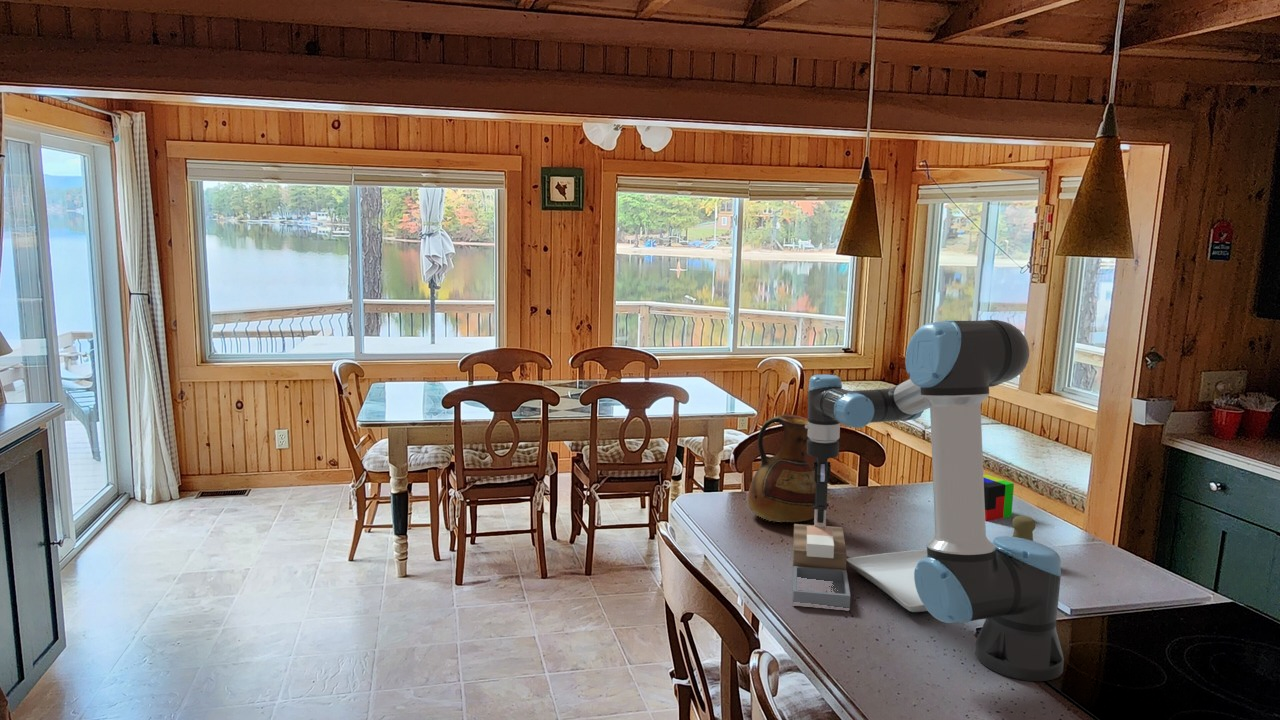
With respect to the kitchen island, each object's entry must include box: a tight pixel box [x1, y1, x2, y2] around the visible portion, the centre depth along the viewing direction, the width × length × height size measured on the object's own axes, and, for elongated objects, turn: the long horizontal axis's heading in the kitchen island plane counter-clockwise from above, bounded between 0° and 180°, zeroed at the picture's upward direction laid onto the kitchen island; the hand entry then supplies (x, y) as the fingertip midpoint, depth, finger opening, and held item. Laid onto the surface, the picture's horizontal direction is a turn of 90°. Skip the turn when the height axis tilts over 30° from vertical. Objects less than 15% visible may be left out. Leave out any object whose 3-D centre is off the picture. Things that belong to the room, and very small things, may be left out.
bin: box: [792, 565, 851, 609], centre depth 181 cm, size 14×12×4 cm
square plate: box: [846, 549, 928, 613], centre depth 185 cm, size 27×27×4 cm
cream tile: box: [806, 535, 834, 558], centre depth 187 cm, size 6×6×3 cm
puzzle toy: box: [983, 473, 1015, 522], centre depth 235 cm, size 10×10×10 cm
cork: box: [1012, 515, 1036, 541], centre depth 201 cm, size 6×6×11 cm
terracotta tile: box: [806, 526, 833, 540], centre depth 193 cm, size 6×6×3 cm
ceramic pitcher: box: [747, 413, 816, 523], centre depth 229 cm, size 20×20×30 cm
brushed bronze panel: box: [792, 523, 848, 571], centre depth 197 cm, size 18×12×7 cm, turn 169°
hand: (819, 533), depth 197 cm, fingers closed
